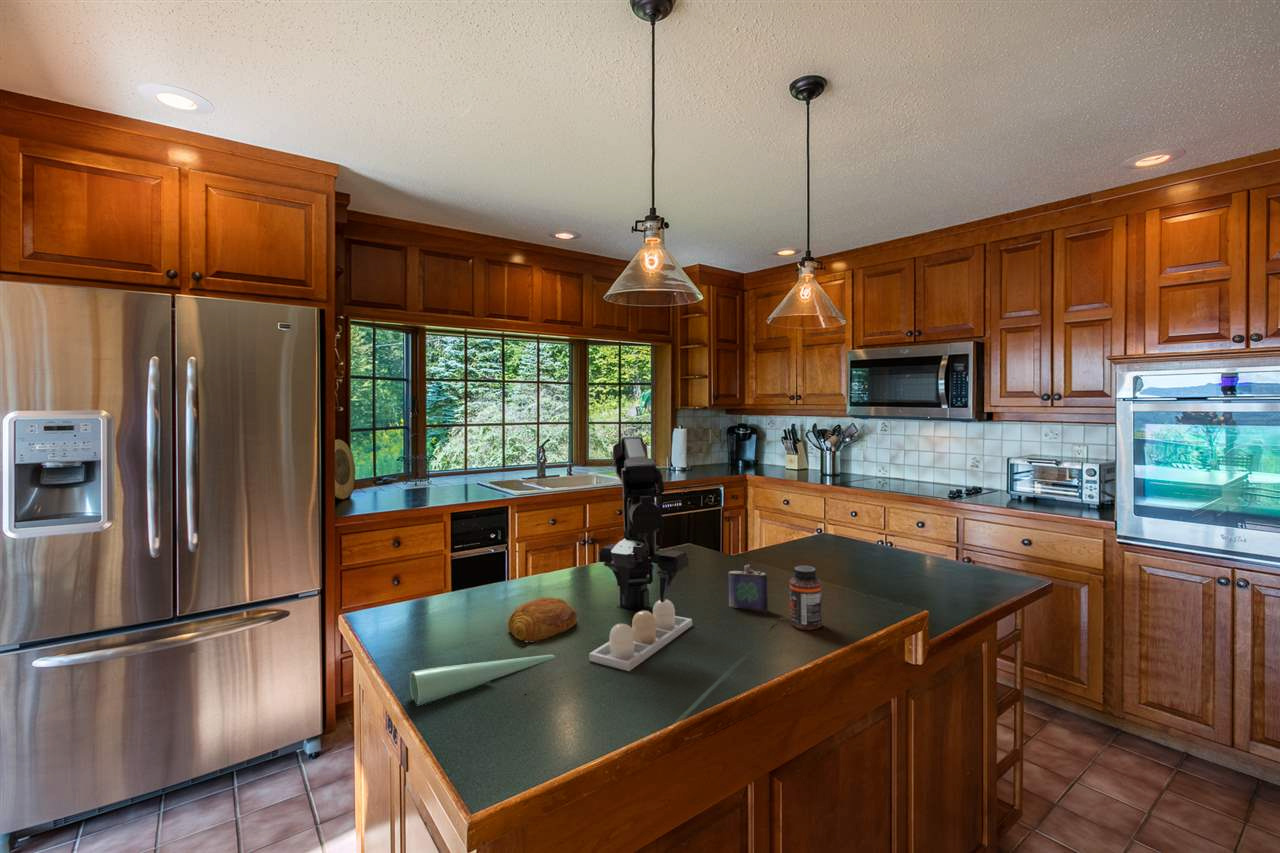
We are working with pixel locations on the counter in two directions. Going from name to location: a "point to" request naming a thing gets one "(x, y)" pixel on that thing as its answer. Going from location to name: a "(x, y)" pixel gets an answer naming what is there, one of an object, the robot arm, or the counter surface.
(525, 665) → the long green cone
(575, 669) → the counter surface
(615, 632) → the cream egg
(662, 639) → the egg carton
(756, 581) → the flask
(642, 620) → the tan egg
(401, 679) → the counter surface
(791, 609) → the supplement bottle
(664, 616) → the cream egg
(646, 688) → the counter surface
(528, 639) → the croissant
